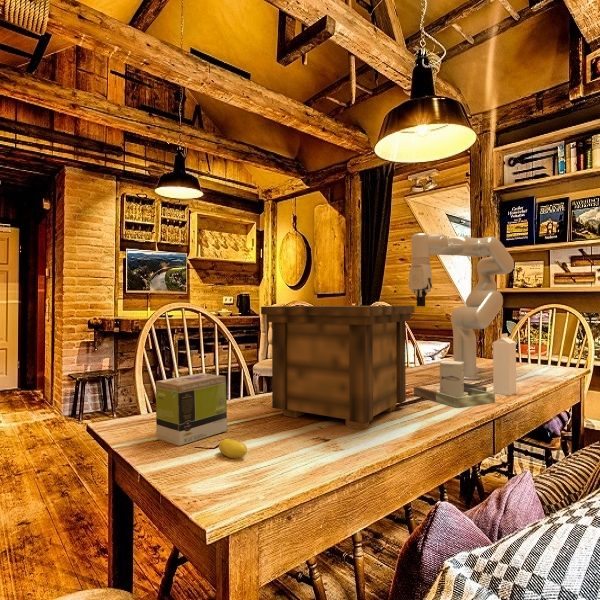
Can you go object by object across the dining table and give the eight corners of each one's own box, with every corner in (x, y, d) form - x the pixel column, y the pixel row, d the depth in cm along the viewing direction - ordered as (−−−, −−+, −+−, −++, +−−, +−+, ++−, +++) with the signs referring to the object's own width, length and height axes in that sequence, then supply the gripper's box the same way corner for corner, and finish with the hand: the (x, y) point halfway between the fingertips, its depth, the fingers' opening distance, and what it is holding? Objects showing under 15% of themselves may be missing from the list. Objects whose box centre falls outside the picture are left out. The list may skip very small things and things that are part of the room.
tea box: (203, 425, 116) (203, 371, 116) (228, 432, 110) (227, 375, 110) (154, 438, 104) (154, 379, 104) (178, 447, 98) (178, 384, 98)
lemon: (228, 450, 96) (228, 433, 96) (251, 458, 91) (251, 440, 91) (213, 455, 93) (213, 437, 93) (236, 464, 88) (236, 445, 88)
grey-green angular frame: (460, 389, 162) (460, 381, 162) (507, 400, 143) (507, 391, 143) (413, 395, 152) (413, 387, 152) (457, 407, 133) (457, 398, 133)
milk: (516, 393, 155) (516, 333, 155) (509, 395, 151) (510, 334, 151) (499, 390, 159) (499, 332, 159) (492, 393, 155) (492, 333, 155)
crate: (261, 416, 124) (261, 306, 125) (321, 394, 154) (320, 305, 154) (370, 436, 105) (369, 306, 105) (415, 407, 134) (414, 305, 135)
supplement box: (439, 398, 147) (438, 362, 147) (443, 394, 153) (442, 359, 153) (461, 400, 143) (461, 363, 143) (464, 396, 150) (464, 361, 150)
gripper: (402, 264, 182) (402, 306, 182) (426, 260, 169) (426, 306, 168) (415, 264, 185) (415, 306, 185) (440, 261, 172) (440, 306, 172)
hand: (421, 306), depth 177 cm, fingers closed
